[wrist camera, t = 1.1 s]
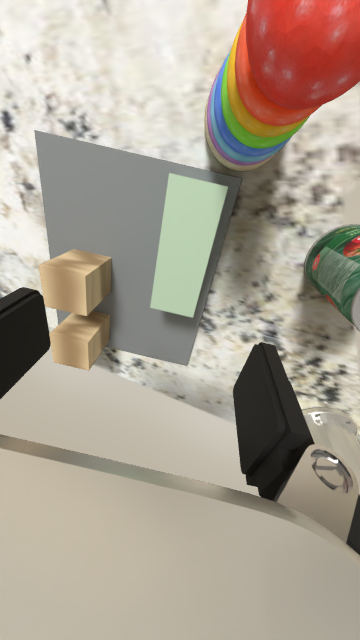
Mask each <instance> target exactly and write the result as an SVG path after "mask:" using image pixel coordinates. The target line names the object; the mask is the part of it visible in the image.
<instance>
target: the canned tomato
mask: <svg viewBox="0 0 360 640" xmlns="http://www.w3.org/2000/svg"><path fill="white" fill-rule="evenodd" d="M304 270H305V275H306V277H307V279H308V281H309V282H310V283H311V284H312V285H313V286H314V287H315V288H316V289H317V290H318V291H319V292H320V293H321V294H322V295H324V297H325V298H327V299H328V301H330V302H331V304H333V305H334V306H335V307H336V308H337V309H338V310H339V311H340V312H341V313H342V314H343V315H344V316H345V317H346V318H347V319H348V320H349V321H350V322H351V323H352V324H354V325H355V327H356V328H357V330H359V331H360V225H359V224H349V225H343V226H340V227H337V228H334V229H332V230H330V231H328V232H327V233H325V234H324V235H323V236H321V237H320V238H319V239H318V240H317V241H316V242H315V243H314V244H313V246H312V247H311V248H310V250H309V252H308V254H307V256H306V259H305V265H304Z"/></svg>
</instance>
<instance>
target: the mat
mask: <svg viewBox="0 0 360 640" xmlns="http://www.w3.org/2000/svg"><path fill="white" fill-rule="evenodd" d="M34 131H35V139H36V147H37V155H38V163H39V171H40V179H41V187H42V196H43V204H44V212H45V220H46V228H47V236H48V244H49V252H50V260H51V259H53V258H55V257H58V256H60V255H62V254H64V253H66V252H68V251H71V250H73V249H77V250H82V251H86V252H90V253H94V254H99V255H103V256H107V257H111V290H110V293H109V294H108V295H107V296H106V297H105V298H104V299H103V300H102V301H101V302H100V303H99V304H98V305H97V306H96V307H95V308H94V309H93V310H92V311H95V312H99V313H103V314H108V315H110V326H109V341H108V343H107V344H106V347H110V348H114V349H118V350H122V351H127V352H131V353H135V354H139V355H144V356H148V357H152V358H156V359H161V360H165V361H169V362H173V363H177V364H182V365H186V366H187V364H188V361H189V357H190V354H191V350H192V347H193V343H194V340H195V337H196V333H197V330H198V326H199V323H200V320H201V316H202V313H203V309H204V306H205V303H206V299H207V296H208V292H209V289H210V286H211V282H212V279H213V275H214V272H215V269H216V265H217V262H218V258H219V255H220V251H221V248H222V245H223V241H224V238H225V234H226V231H227V228H228V224H229V221H230V217H231V214H232V211H233V207H234V204H235V200H236V197H237V194H238V190H239V187H240V183H241V180H242V178H237V177H233V176H229V175H224V174H220V173H216V172H212V171H207V170H203V169H199V168H194V167H190V166H186V165H182V164H177V163H173V162H169V161H164V160H160V159H156V158H152V157H147V156H143V155H139V154H134V153H130V152H126V151H122V150H117V149H113V148H109V147H105V146H100V145H96V144H92V143H87V142H83V141H79V140H75V139H70V138H66V137H62V136H57V135H53V134H49V133H45V132H40V131H36V130H34ZM169 173H172V174H176V175H180V176H184V177H189V178H193V179H197V180H202V181H206V182H210V183H214V184H219V185H223V186H227V187H228V189H227V193H226V197H225V200H224V204H223V208H222V212H221V215H220V219H219V223H218V226H217V230H216V234H215V238H214V241H213V245H212V249H211V252H210V256H209V260H208V264H207V267H206V271H205V275H204V278H203V282H202V286H201V289H200V293H199V297H198V301H197V304H196V308H195V312H194V315H193V318H192V317H188V316H184V315H179V314H175V313H171V312H167V311H162V310H158V309H154V308H150V305H151V298H152V291H153V284H154V277H155V270H156V262H157V255H158V248H159V241H160V234H161V227H162V220H163V213H164V206H165V199H166V192H167V185H168V177H169ZM70 314H71V312H67V311H63V310H58V309H57V317H58V325H59V324H60V323H61V322H63V321H64V320H65V319H66V318H67V317H68V316H69V315H70Z"/></svg>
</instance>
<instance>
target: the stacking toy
mask: <svg viewBox="0 0 360 640" xmlns="http://www.w3.org/2000/svg"><path fill="white" fill-rule="evenodd" d="M359 81H360V0H248V6H247V13H246V15H245V18H244V20H243V22H242V24H241V26H240V28H239V30H238V32H237V35H236V37H235V39H234V42H233V46H232V49H231V51H230V52H229V54H228V56H227V58H226V59H225V61H224V63H223V66H222V68H221V69H220V71H219V72H218V74H217V76H216V78H215V80H214V83H213V85H212V88H211V92H210V95H209V97H208V101H207V104H206V110H205V133H206V138H207V142H208V145H209V147H210V150H211V151H212V153H213V155H214V156H215V158H216V159H217V160H218V161H219V162H220V163H221V164H223V165H224V166H226V167H227V168H229V169H232V170H236V171H249V170H253V169H256V168H258V167H260V166H262V165H264V164H265V163H267V162H268V161H269V160H270V159H271V158H273V157H274V156H275V155H276V153H277V152H278V151H279V150H280V149H281V148H282V147H283V146H284V145H285V144H286V143H287V142H288V141H289V140H290V138H291V137H292V135H294V134H295V133H296V132H297V131H298V130H299V129H300V128H301V127H302V125H303V124H304V123H305V122H306V120H307V119H308V118H309V116H310V115H311V114H312V113H313V112H315V111H316V110H317V109H318V108H319V107H320V106H321V105H323V104H325V103H327V102H330V101H332V100H334V99H335V98H337V97H339V96H341V95H342V94H344V93H345V92H347V91H348V90H349V89H351V88H352V87H353V86H355V85H356V84H357V83H358V82H359Z"/></svg>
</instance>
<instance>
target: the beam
mask: <svg viewBox="0 0 360 640" xmlns="http://www.w3.org/2000/svg"><path fill="white" fill-rule="evenodd" d="M227 189H228V187H227V186H223V185H219V184H214V183H210V182H206V181H202V180H197V179H193V178H189V177H184V176H180V175H176V174H172V173H169V177H168V185H167V192H166V199H165V206H164V213H163V220H162V227H161V234H160V241H159V248H158V255H157V262H156V270H155V277H154V284H153V291H152V298H151V305H150V308H154V309H158V310H162V311H167V312H171V313H175V314H179V315H184V316H188V317H192V318H193V315H194V312H195V308H196V304H197V301H198V297H199V293H200V289H201V286H202V282H203V278H204V275H205V271H206V267H207V264H208V260H209V256H210V252H211V249H212V245H213V241H214V238H215V234H216V230H217V226H218V223H219V219H220V215H221V212H222V208H223V204H224V200H225V197H226V193H227Z"/></svg>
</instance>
